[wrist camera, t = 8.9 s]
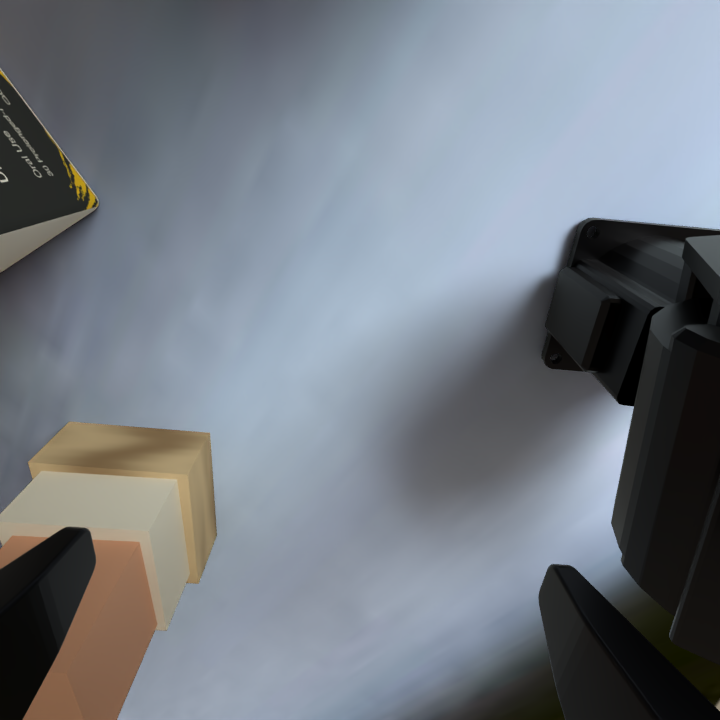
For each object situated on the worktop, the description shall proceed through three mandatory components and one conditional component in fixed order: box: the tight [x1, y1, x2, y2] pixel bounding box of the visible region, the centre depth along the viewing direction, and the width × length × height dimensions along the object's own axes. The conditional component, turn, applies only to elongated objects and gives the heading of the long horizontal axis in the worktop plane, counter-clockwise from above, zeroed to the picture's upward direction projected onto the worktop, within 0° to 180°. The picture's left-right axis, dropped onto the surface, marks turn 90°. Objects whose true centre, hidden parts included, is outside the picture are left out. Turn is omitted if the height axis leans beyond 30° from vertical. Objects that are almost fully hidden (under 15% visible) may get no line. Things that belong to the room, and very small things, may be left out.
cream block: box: [0, 471, 190, 631], centre depth 21 cm, size 6×6×3 cm
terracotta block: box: [0, 535, 157, 720], centre depth 18 cm, size 5×5×5 cm
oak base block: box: [28, 422, 217, 584], centre depth 24 cm, size 7×7×4 cm
